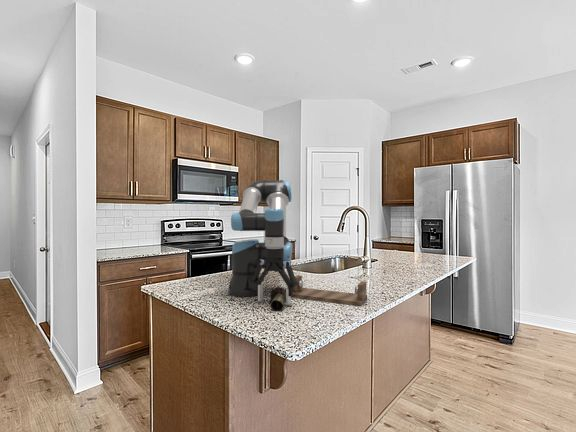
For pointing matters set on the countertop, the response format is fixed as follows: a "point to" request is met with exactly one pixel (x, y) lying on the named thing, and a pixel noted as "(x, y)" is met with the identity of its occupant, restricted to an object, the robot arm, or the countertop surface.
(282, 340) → the countertop surface
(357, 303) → the shaft stand
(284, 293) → the lumpy brown club
